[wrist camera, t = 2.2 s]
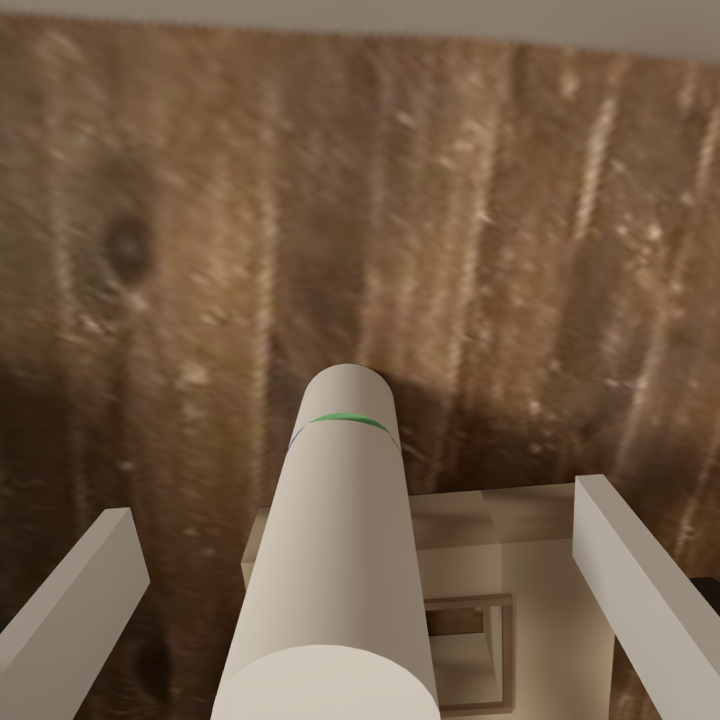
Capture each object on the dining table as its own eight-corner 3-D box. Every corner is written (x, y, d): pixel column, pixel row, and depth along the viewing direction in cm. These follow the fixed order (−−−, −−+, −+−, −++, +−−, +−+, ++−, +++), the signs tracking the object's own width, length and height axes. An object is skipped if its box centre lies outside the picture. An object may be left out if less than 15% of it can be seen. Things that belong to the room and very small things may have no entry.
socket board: (291, 686, 29) (280, 766, 25) (258, 507, 25) (239, 567, 21) (573, 667, 29) (608, 746, 25) (583, 481, 25) (625, 538, 21)
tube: (412, 416, 24) (486, 752, 10) (339, 464, 25) (307, 839, 10) (357, 345, 23) (349, 604, 8) (283, 398, 24) (161, 715, 9)
